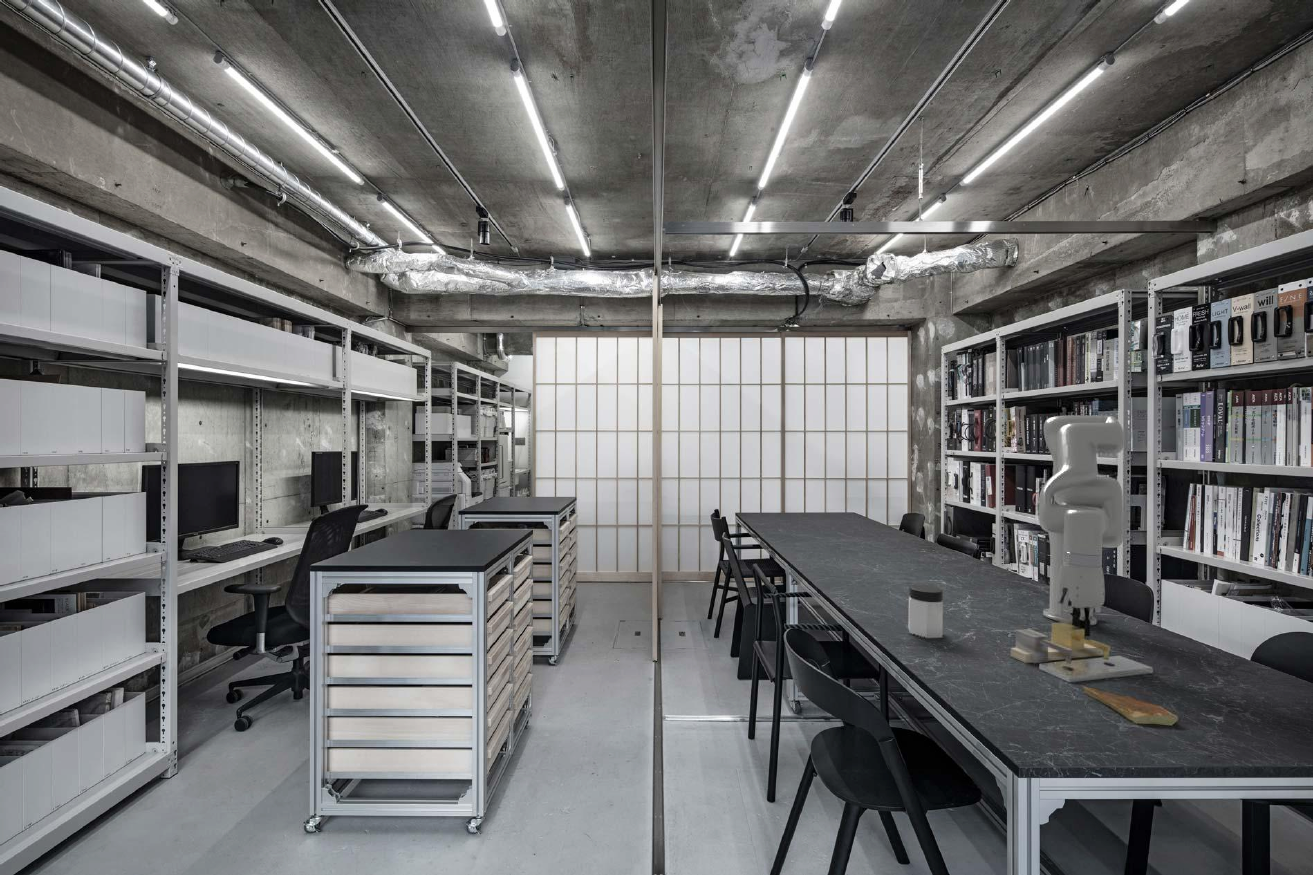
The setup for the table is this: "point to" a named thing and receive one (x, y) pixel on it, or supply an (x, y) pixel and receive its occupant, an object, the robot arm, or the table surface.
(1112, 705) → the shard
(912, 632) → the jar
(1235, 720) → the table surface
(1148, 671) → the bolt plate
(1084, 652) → the divider rail
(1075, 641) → the sliding leg
